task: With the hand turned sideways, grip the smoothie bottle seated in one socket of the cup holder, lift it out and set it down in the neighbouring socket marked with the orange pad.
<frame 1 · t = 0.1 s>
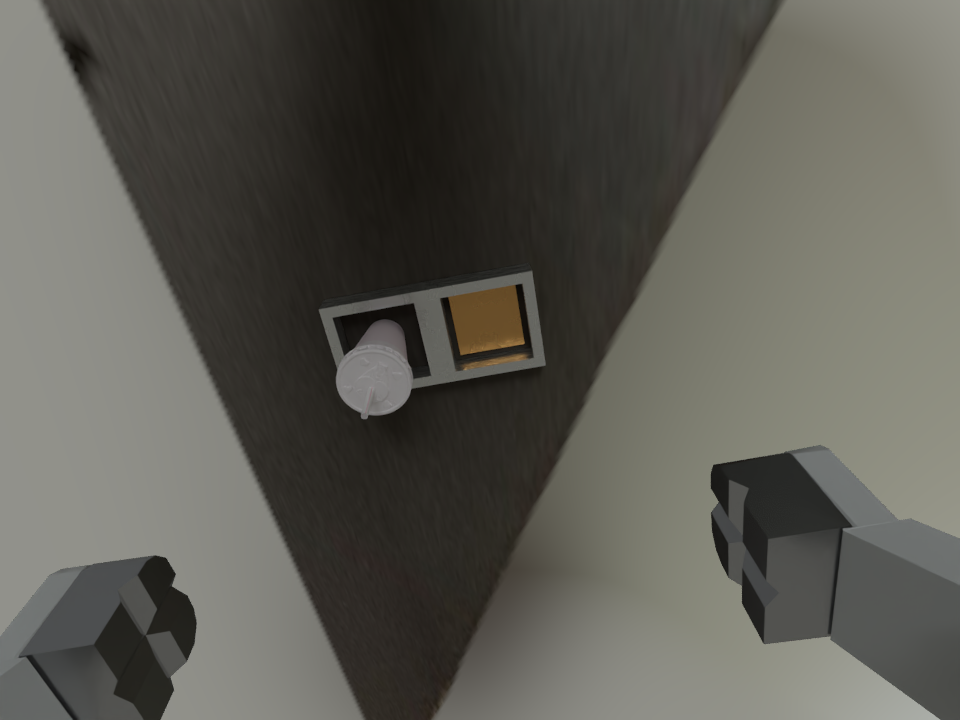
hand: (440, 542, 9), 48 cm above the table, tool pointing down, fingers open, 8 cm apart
smoothie: (386, 335, 60), resting in cup holder
cup holder: (436, 327, 59), on the table
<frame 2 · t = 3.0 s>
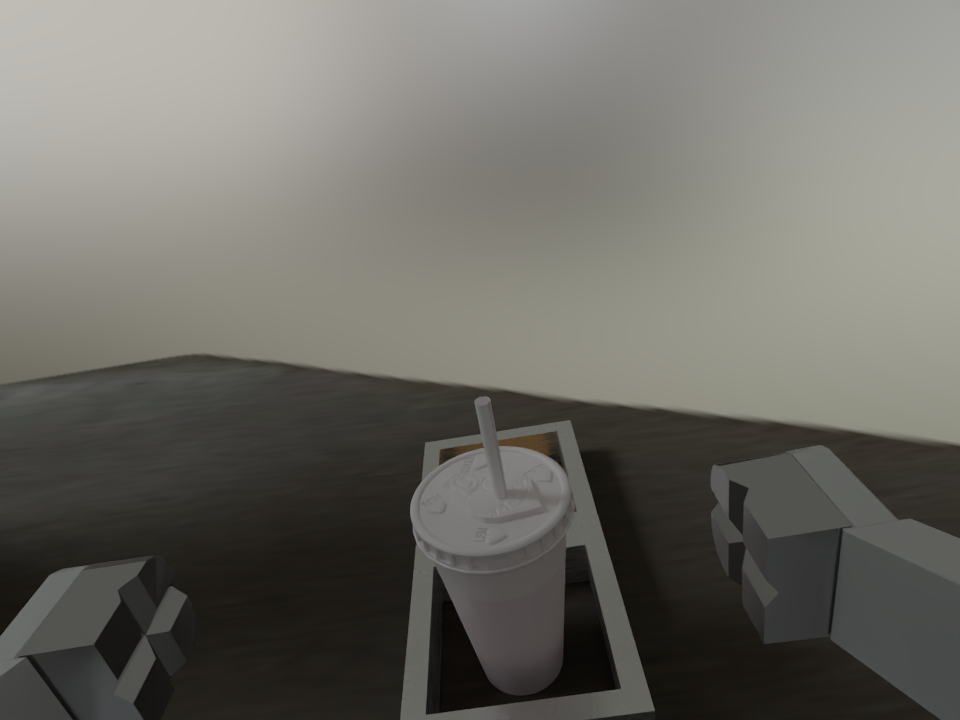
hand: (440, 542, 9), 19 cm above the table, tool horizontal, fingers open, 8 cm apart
smoothie: (523, 660, 28), resting in cup holder
cup holder: (514, 573, 33), on the table
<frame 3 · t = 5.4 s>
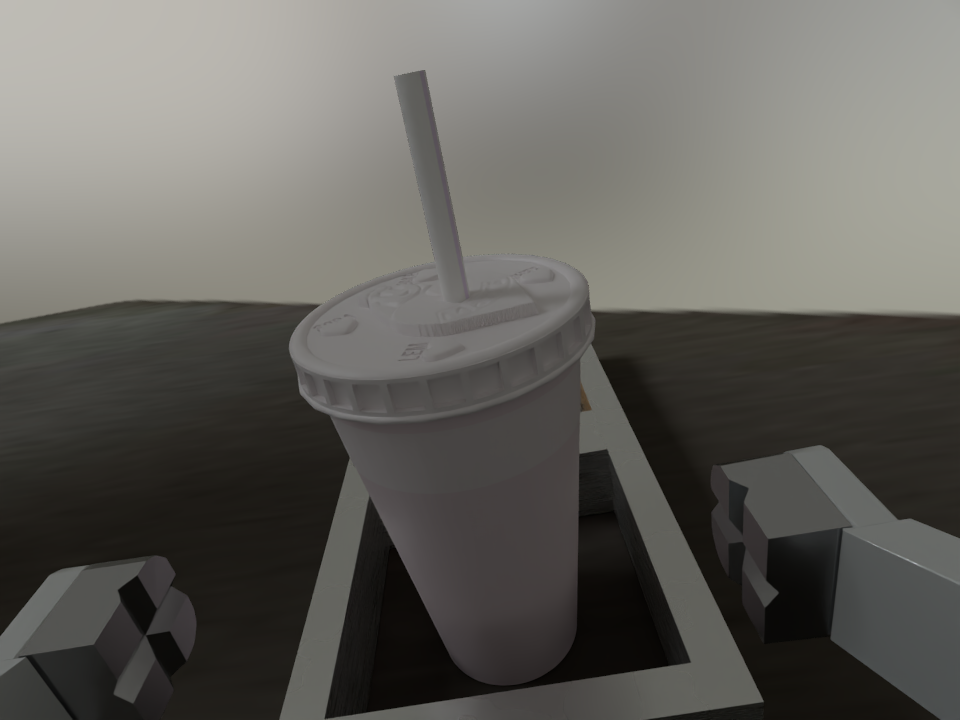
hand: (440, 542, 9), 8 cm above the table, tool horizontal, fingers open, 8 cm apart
smoothie: (511, 628, 17), resting in cup holder
cup holder: (498, 506, 22), on the table
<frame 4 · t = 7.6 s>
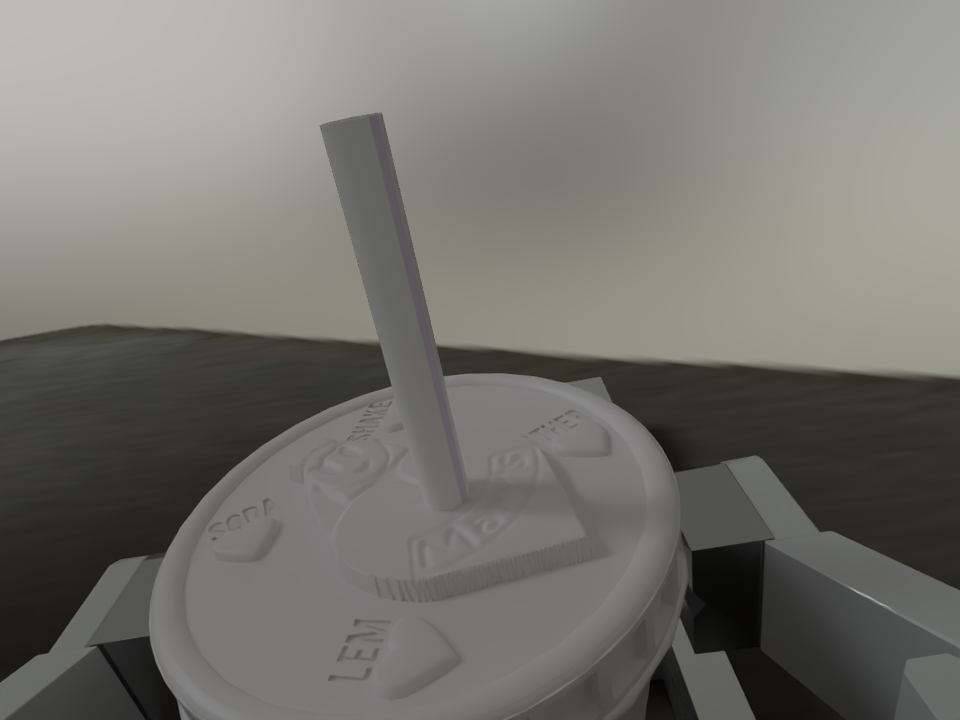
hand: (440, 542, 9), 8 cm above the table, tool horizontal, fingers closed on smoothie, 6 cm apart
cup holder: (506, 660, 16), on the table
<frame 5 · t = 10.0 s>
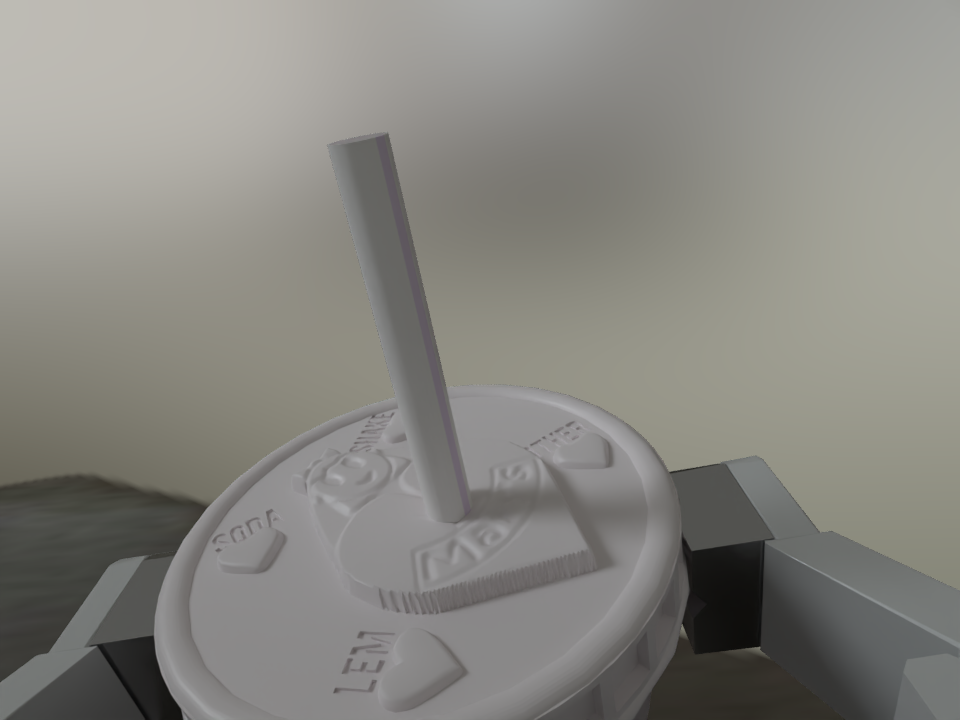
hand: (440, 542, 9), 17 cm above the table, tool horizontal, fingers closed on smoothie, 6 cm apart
when the fingers open (9 cm above the table, at t = 12.9 s): smoothie stays where it is, resting on cup holder.
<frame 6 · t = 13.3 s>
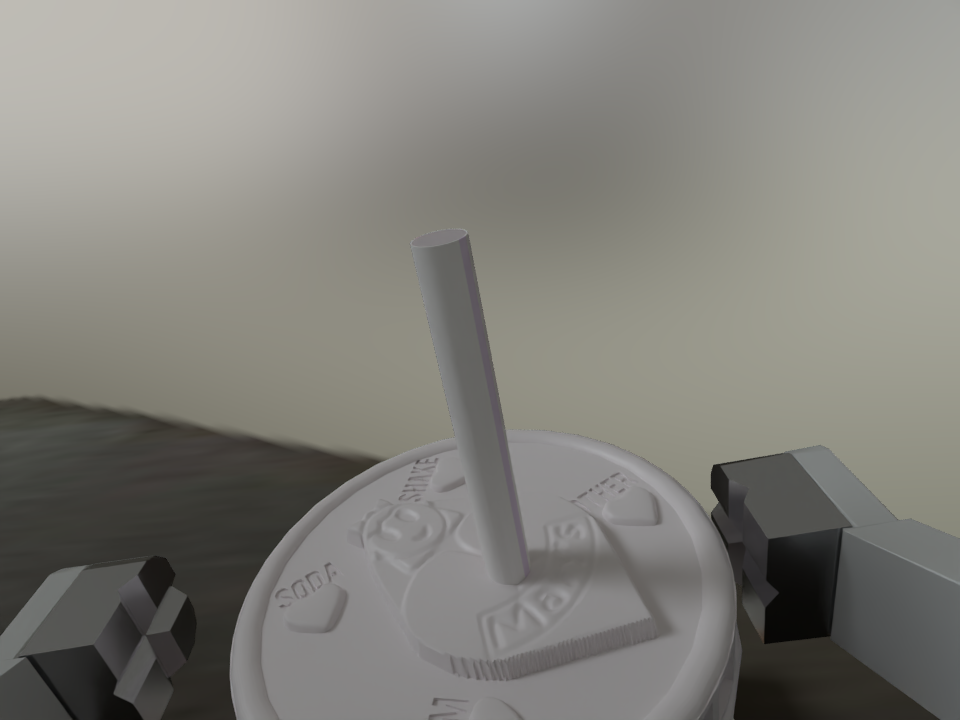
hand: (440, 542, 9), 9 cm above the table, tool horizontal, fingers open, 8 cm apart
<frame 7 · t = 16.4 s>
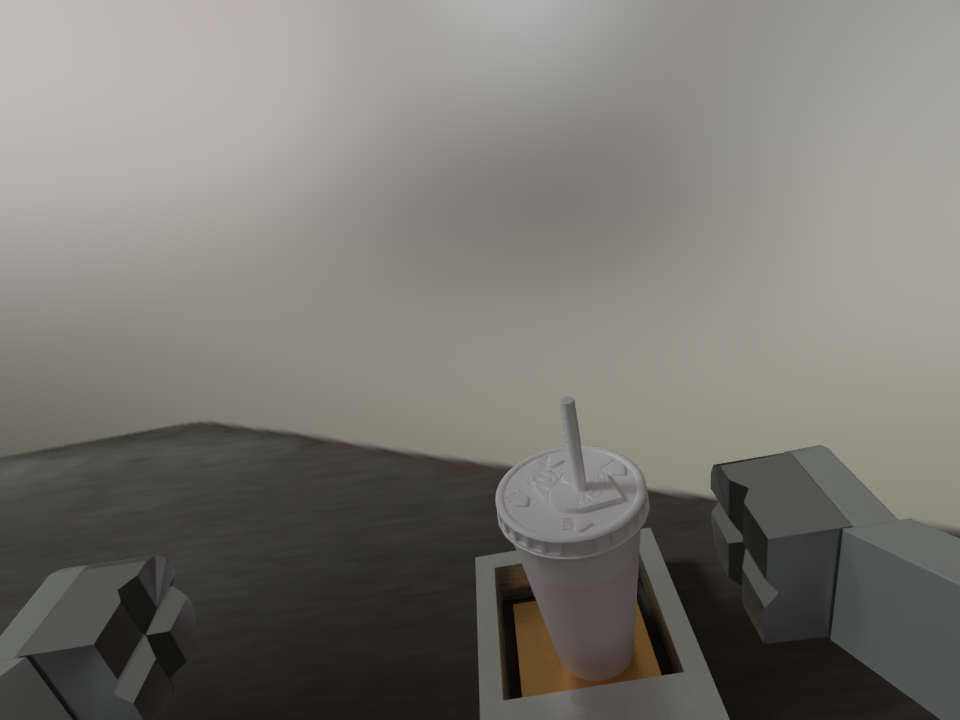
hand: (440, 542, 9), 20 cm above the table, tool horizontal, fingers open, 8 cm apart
smoothie: (595, 649, 30), resting on cup holder
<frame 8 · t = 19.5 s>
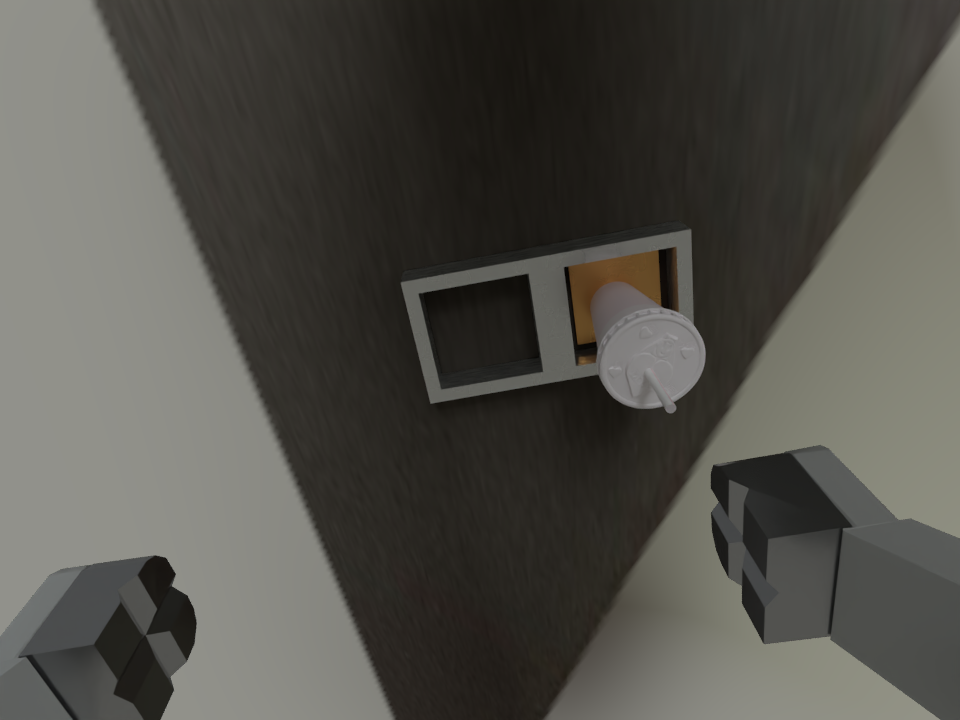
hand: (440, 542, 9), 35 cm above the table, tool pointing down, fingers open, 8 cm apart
smoothie: (614, 304, 45), resting on cup holder
cup holder: (548, 308, 45), on the table
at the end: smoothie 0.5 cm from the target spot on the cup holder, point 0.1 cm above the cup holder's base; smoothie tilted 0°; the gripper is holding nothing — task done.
